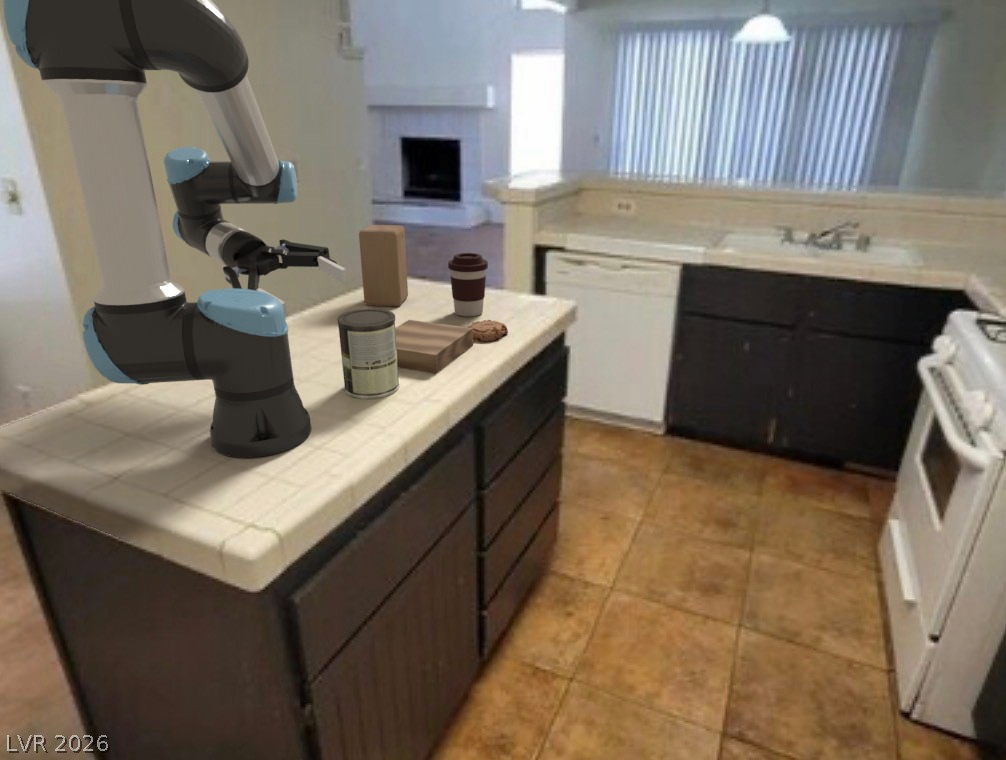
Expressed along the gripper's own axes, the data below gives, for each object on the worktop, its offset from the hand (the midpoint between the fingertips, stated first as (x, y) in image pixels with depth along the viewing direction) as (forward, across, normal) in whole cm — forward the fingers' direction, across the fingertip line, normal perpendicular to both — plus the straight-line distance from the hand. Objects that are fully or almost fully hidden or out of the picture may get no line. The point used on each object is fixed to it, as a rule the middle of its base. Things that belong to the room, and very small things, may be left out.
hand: (316, 292), depth 112 cm
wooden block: (-27, -43, -38) cm, 64 cm away
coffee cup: (-3, -48, -34) cm, 59 cm away
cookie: (+10, -38, -28) cm, 48 cm away
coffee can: (+10, -2, -18) cm, 21 cm away
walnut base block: (+6, -20, -24) cm, 32 cm away
